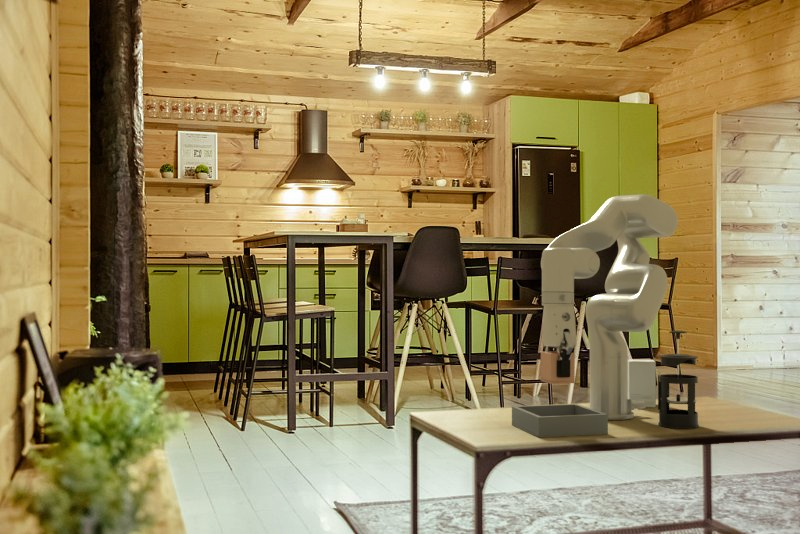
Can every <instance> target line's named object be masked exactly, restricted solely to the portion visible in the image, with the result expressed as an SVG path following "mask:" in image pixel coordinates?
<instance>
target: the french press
mask: <svg viewBox="0 0 800 534" xmlns="http://www.w3.org/2000/svg"><path fill="white" fill-rule="evenodd" d="M668 333H669V334H675V339H676V340H677V341H676V344H677V345H676V346H677V347H676V349H677V352H676V353H667V354H660V355H658V358H660V365H661V366H665V367H677V373H676V374H675V373H667V374H666V373H665V374H658V375H657V410H658V411H659V412H658V413H659V414H658V415H659V416H658V419H659V421H658V424H657V425H658V427H662V428H664V429H666V428H667V429H671V430H693V429H698V428H699V427H700V425H699V413H698V411H696V402H697V398H696V384H697V383H698V381H699V380H698V379H699V377H698V376H697V375H692V374H683V373H682V374H680V365H681V364H683V365H684V364H685V365H693V366H697V365H696V364H697V359H698V356H697V355H691V354H688V353H687V354H685V353H680V339H681V334H688V331H684V330H671V331H669V332H668ZM670 384H673V385H675V384H676V385H677V393H676V396H670ZM680 385H687V397H685V396H683V397H682V396H681V394H680ZM670 404H673V405H687V409H678V408H677V409H676V408H673V409H672V408H670Z"/></svg>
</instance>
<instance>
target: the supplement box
mask: <svg viewBox="0 0 800 534" xmlns="http://www.w3.org/2000/svg"><path fill="white" fill-rule="evenodd" d="M656 365H657V363H656V361H655V360H654V359H641V358H640V359H637V358H636V359H635V358H634V359H633V358H632V359H628V399H631V400H632V401H635V402H637V401H644V402H645V404H646V406H645V408H656V407H657V405H656V404H657V394H656V392H657V390H656V389H657V387H656V386H657V384H656V383H657V382H656V380H657V378H656V374H657V373H656V372H657V371H656V370H657V369H656Z"/></svg>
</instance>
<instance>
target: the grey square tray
mask: <svg viewBox="0 0 800 534" xmlns="http://www.w3.org/2000/svg"><path fill="white" fill-rule="evenodd" d="M511 426H513V427H515V428H518V429H520V430H522V431H525V432H527V433H529V434H530V433H531V435H532V434H533V436H535V437H537V438H550V437H551V438H553V437H554V438H555V437H571V436H572V437H573V436H594V435H595V436H596V435H597V436H598V435H608V434H609V420H608V414H605V413H602V412H599V411H596V410H593V409H590V407H587V406H583V405H581V404H578V403H568V404H567V403H566V404H564V403H563V404H561V403H560V404H540V405H539V404H537V405H517V406H516V405H514V406H511Z"/></svg>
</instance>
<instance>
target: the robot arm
mask: <svg viewBox="0 0 800 534" xmlns="http://www.w3.org/2000/svg"><path fill="white" fill-rule="evenodd" d="M678 225H679V218H678V215H677V212H676V211H675V209H674V208H673V206H672V205H670V204H668V203H666V202H665V201H663V200H660V199H659V198H657V197H655V196H653V195H649V194H643V193H641V194H625V195H615V196H612V197H610V198H608V199H607V200H606V201H605V202H604V203H602V205H601V206H600V207H599V209H597V211H596V212H595V213H594V214H593V215H592V216H591V218H589V220H588V221H587V222H584V223H582V224H580V225H578V226H576V227H574V228H571V229H570V230H568V231H566V232H564V233H562V234H560V235H559V236H557V237H555V239H554V240H553V241H551V243H550V244H549V245H548V246H547V247H546V248H544V249H543V251H542V253H541V258H540V259H541V260H540V268H541V306H543V312H542V323H541V325H542V327H541V337H542V338H541V340H542V344H543V347H544V348H543V349H544V352H547V351H557V354H558V360H557V377H559V378H564V377H570V360H571V353H573V350H574V348H575V347H576V345H577V327H576V326H577V325H576V314H575V308H574V307H575V279H576V280H579V279H580V280H581V279H584V280H585V279H589V278H592V277H594V276H595V275H596V274H597V273H598V271H599V269H600V266H601V261H600V257H599V255H598V254H597V252H600V251H603V250H605V249H609V248H610V247H612V245H614V244H615V242H617V247H618V251H617V255H616V257H615V259H614V262H613V264H612V266H611V268H610V270H609V272H608V273H607V277H606V278H605V283H604V289H605V290H604V291H605V292H606V293H600V294H599V293H598V294H596V295H593V296H591V297H590V298H589V299H588V301H587V302H586V304H585V310H584V311H585V318H586V324H587V330H588V338H589V408H590V409H593V410H596V411H599V412H602V413H605V414H608V421H618V420H619V421H622V420H623V421H624V420H630V419H633V418H634V417H635V412H633V411H634V410H635V409H638V410H640V409H645V408H646V407H645V406H646V404H645V402H644V401H637V402H635V401H632V400H631V399H628V353H629V351H628V345H627V342H626V341H625V339H624V338H623V336H622V335H621V332H630V333H642V332H646V331H648V330H649V329H650V328H651V327H652V325H653V324H654V322H655V320H656V318H657V315H658V314H659V311H660V308H661V307H662V304H663V302H664V300H665V298H666V297H665V296H666V294H667V290H668V284H669V283H668V275H667V273H666V271H665V269H664V268H663V267H662V266H660V265H658V264H653V263H652V264H651V263H650V259H651V258H650V254H649V252H648V250H647V248H646V247H645V246H644V245H643V244H642V243H641V241H640V239H652V238H653V239H654V238H668V237H670V236H671V237H672V236H673V234H675V232H676V231H677V228H678ZM561 351H563V352H561Z"/></svg>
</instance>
